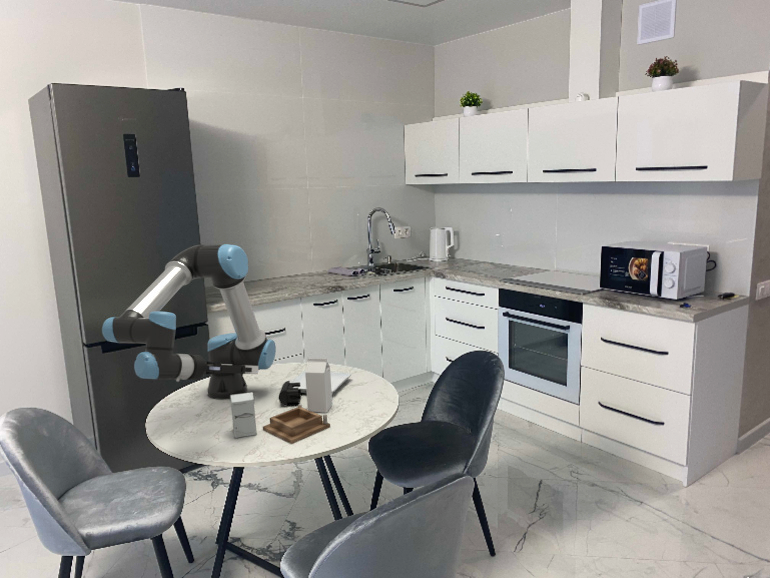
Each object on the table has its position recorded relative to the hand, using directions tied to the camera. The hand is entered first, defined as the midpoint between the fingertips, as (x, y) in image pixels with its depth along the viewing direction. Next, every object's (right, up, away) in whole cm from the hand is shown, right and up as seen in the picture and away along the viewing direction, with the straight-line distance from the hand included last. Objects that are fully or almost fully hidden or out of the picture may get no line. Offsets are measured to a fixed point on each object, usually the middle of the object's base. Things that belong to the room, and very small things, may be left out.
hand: (244, 369), depth 192 cm
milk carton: (+23, -17, +19) cm, 35 cm away
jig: (+17, -20, +3) cm, 27 cm away
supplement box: (0, -22, +2) cm, 22 cm away
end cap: (+11, -16, +27) cm, 33 cm away
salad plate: (+20, -13, +42) cm, 48 cm away
